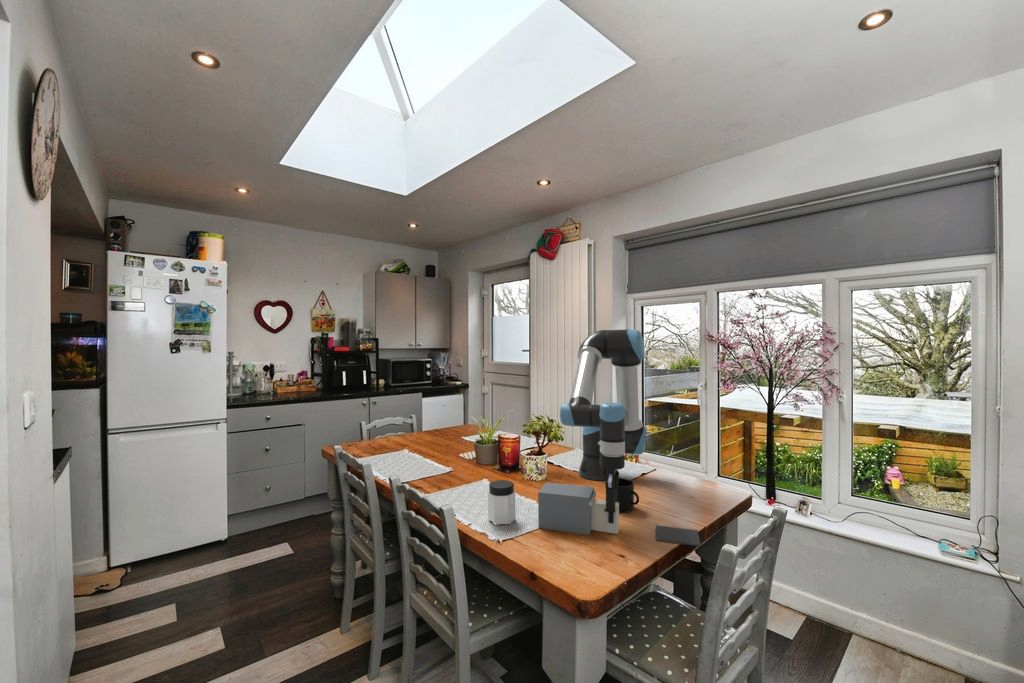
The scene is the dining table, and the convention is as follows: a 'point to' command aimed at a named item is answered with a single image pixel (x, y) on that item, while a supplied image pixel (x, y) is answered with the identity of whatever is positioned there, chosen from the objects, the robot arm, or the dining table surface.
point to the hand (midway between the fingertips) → (611, 529)
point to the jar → (501, 502)
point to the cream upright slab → (602, 516)
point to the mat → (677, 535)
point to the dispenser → (565, 507)
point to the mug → (626, 495)
